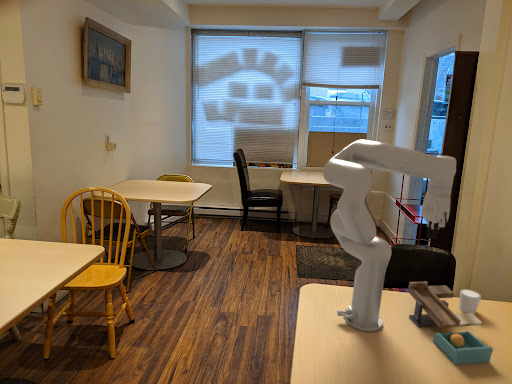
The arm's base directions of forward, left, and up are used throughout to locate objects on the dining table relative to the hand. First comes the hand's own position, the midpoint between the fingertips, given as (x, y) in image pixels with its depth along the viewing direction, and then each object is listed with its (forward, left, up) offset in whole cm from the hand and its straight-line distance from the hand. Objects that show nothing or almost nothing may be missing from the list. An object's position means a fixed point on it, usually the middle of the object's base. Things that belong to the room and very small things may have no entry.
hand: (431, 238), depth 138 cm
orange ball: (-4, -26, -24) cm, 36 cm away
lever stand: (-4, -12, -27) cm, 30 cm away
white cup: (+16, -6, -27) cm, 32 cm away
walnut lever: (0, -12, -22) cm, 25 cm away
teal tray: (-4, -28, -27) cm, 39 cm away
